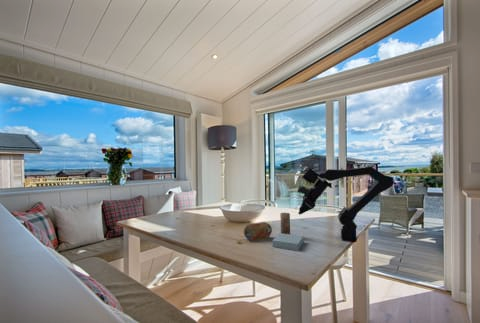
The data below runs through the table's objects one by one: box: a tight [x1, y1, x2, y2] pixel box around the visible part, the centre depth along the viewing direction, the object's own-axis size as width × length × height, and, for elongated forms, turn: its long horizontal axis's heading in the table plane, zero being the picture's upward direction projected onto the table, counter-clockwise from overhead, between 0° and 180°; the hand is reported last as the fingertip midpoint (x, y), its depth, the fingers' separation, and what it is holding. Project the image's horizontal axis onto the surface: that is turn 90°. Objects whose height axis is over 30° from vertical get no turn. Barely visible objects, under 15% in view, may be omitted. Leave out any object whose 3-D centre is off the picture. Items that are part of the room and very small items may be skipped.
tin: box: [243, 221, 273, 241], centre depth 122 cm, size 15×3×8 cm, turn 105°
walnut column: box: [280, 212, 291, 234], centre depth 125 cm, size 5×5×12 cm
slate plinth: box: [272, 232, 305, 251], centre depth 113 cm, size 12×12×3 cm
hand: (299, 212), depth 124 cm, fingers open, 9 cm apart
